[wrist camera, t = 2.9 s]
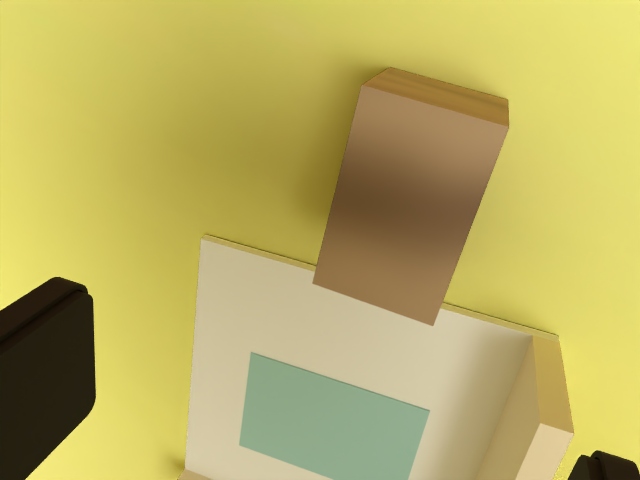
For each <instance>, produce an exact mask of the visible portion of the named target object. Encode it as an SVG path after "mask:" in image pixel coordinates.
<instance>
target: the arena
mask: <svg viewBox="0 0 640 480" xmlns="http://www.w3.org/2000/svg"><path fill="white" fill-rule="evenodd" d="M315 270H316V266H314V265H311V264H307V263H304V262H300V261H297V260H293V259H290V258H286V257H283V256H279V255H276V254H272V253H269V252H266V251H262V250H259V249H255V248H252V247H248V246H245V245H241V244H238V243H234V242H231V241H227V240H224V239H220V238H217V237H213V236H210V235H205V236H204V237H202V238H201V243H200V257H199V271H198V285H197V300H196V314H195V328H194V342H193V357H192V371H191V385H190V399H189V414H188V428H187V442H186V456H185V469H184V470H183V472H182V473H181V475H180V476H179V478H178V479H177V480H552V479H553V477H554V475H555V473H556V471H557V469H558V467H559V465H560V463H561V460H562V458H563V456H564V454H565V452H566V450H567V448H568V446H569V444H570V442H571V440H572V438H573V436H574V429H573V423H572V417H571V410H570V404H569V398H568V392H567V386H566V379H565V373H564V367H563V361H562V355H561V348H560V342H559V336H557V335H554V334H550V333H547V332H543V331H540V330H537V329H533V328H530V327H526V326H523V325H519V324H516V323H512V322H509V321H505V320H502V319H498V318H495V317H491V316H488V315H484V314H481V313H477V312H474V311H471V310H467V309H464V308H460V307H457V306H453V305H450V304H446V303H443V302H442V305H441V307H440V310H439V313H438V315H437V318H436V320H435V323H434V326H430V325H428V324H425V323H422V322H419V321H416V320H414V319H411V318H408V317H405V316H402V315H399V314H397V313H394V312H391V311H388V310H385V309H382V308H380V307H377V306H374V305H371V304H368V303H366V302H363V301H360V300H357V299H354V298H351V297H349V296H346V295H343V294H340V293H337V292H334V291H332V290H329V289H326V288H323V287H320V286H318V285H315V284H312V282H313V278H314V274H315Z"/></svg>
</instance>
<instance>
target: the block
mask: <svg viewBox="0 0 640 480" xmlns="http://www.w3.org/2000/svg"><path fill="white" fill-rule="evenodd" d="M508 129H509V110H508V100H507V99H504V98H500V97H496V96H493V95H489V94H486V93H482V92H478V91H475V90H471V89H468V88H464V87H460V86H457V85H453V84H449V83H446V82H442V81H439V80H435V79H431V78H428V77H424V76H421V75H417V74H413V73H410V72H406V71H403V70H399V69H395V68H392V67H389V68H388V69H386V70H385V71H383V72H381V73H380V74H378V75H377V76H375V77H373V78H372V79H370V80H369V81H367V82H365V83H364V84H362V85H361V89H360V93H359V97H358V101H357V105H356V109H355V113H354V117H353V121H352V125H351V129H350V133H349V137H348V141H347V145H346V149H345V153H344V157H343V161H342V165H341V170H340V174H339V178H338V182H337V186H336V190H335V194H334V198H333V202H332V206H331V210H330V214H329V218H328V222H327V226H326V230H325V234H324V238H323V242H322V246H321V250H320V254H319V258H318V262H317V266H316V270H315V274H314V278H313V282H312V284H315V285H318V286H320V287H323V288H326V289H329V290H332V291H334V292H337V293H340V294H343V295H346V296H349V297H351V298H354V299H357V300H360V301H363V302H366V303H368V304H371V305H374V306H377V307H380V308H382V309H385V310H388V311H391V312H394V313H397V314H399V315H402V316H405V317H408V318H411V319H414V320H416V321H419V322H422V323H425V324H428V325H430V326H434V323H435V320H436V318H437V315H438V313H439V310H440V307H441V305H442V302H443V299H444V297H445V294H446V292H447V289H448V286H449V284H450V281H451V278H452V276H453V273H454V271H455V268H456V265H457V263H458V260H459V257H460V255H461V252H462V250H463V247H464V244H465V242H466V239H467V236H468V234H469V231H470V229H471V226H472V223H473V221H474V218H475V215H476V213H477V210H478V208H479V205H480V202H481V200H482V197H483V194H484V192H485V189H486V187H487V184H488V181H489V179H490V176H491V173H492V171H493V168H494V166H495V163H496V160H497V158H498V155H499V152H500V150H501V147H502V145H503V142H504V139H505V137H506V134H507V131H508Z"/></svg>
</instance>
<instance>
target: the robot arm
mask: <svg viewBox="0 0 640 480" xmlns="http://www.w3.org/2000/svg"><path fill="white" fill-rule="evenodd" d="M95 398H96V388H95V352H94V315H93V298H92V296H91V295H89V294H88V290H87V288H86V287H85V286H84V285H82V284H79V283H76V282H73V281H70V280H67V279H64V278H61V277H54V278H52V279H50V280H48V281H46V282H45V283H43V284H42V285H40V286H39V287H37V288H35V289H34V290H32V291H31V292H29V293H28V294H26V295H24V296H23V297H21V298H20V299H18V300H17V301H15V302H13V303H12V304H10V305H9V306H7V307H6V308H4V309H2V310H1V311H0V480H25V479H26V478H27V477H28V476H29V475H30V474H31V473H32V472H33V471H34V470H35V469H36V468H37V467H38V466H39V465H40V464H41V463H42V462H43V461H44V460H45V459H46V458H47V456H48V455H49V454H50V453H51V452H52V451H53V450H54V449H55V448H56V447H57V446H58V445H59V444H60V443H61V442H62V441H63V440H64V439H65V438H66V437H67V436H68V435H69V434H70V433H71V432H72V431H73V430H74V429H75V428H76V427H77V426H78V425H79V424H80V423H81V422H82V421H83V420H84V419H85V418H86V417H87V415H88V414H89V413H90V411H91V410H92V408H93V406H94V403H95ZM568 480H640V474H639V471H638V468H637V466H636V464H635V463H634V462H633V461H630V460H627V459H624V458H621V457H617V456H614V455H611V454H608V453H605V452H602V451H595V452H594V453H593V454H592V455H591V457H588V456H585V455H581V456H580V457H579V458H578V460H577V462H576V464H575V466H574V468H573V470H572V472H571V474H570V476H569V478H568Z"/></svg>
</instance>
